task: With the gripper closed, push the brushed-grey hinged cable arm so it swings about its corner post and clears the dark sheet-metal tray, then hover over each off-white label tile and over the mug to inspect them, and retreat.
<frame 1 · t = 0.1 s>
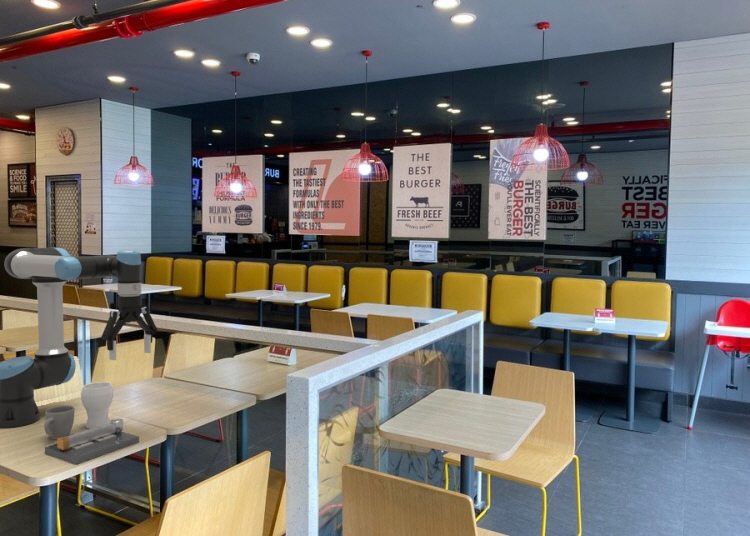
hand: (130, 356, 196), 28 cm above the table, fingers open, 13 cm apart
mug: (57, 438, 195), on the table
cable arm: (92, 433, 187), point 4 cm above the table, hinge at 0.0°
chassis: (93, 447, 186), on the table
cup: (98, 426, 208), on the table
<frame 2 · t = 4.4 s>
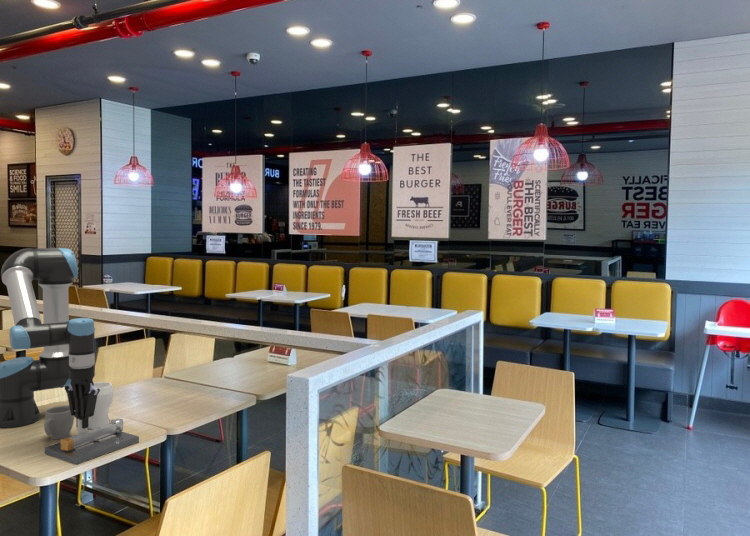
hand: (82, 437, 185), 4 cm above the table, fingers closed
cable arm: (94, 433, 187), point 4 cm above the table, hinge at 5.8°, touching gripper
everything else where it was.
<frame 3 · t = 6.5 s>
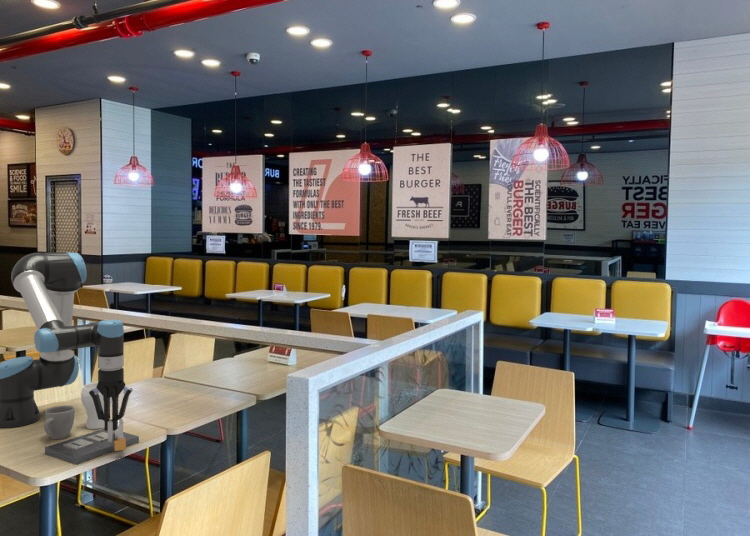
hand: (111, 440, 184), 3 cm above the table, fingers closed
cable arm: (118, 433, 187), point 4 cm above the table, hinge at 57.2°, touching gripper
everything else where it was.
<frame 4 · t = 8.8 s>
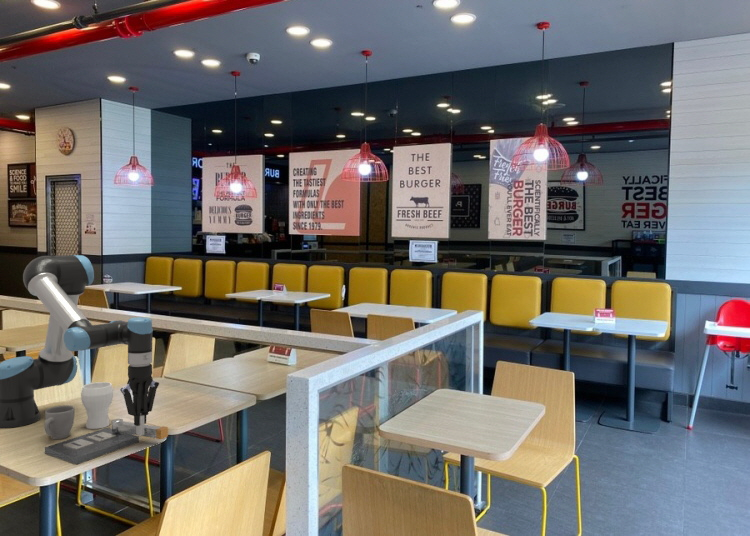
hand: (140, 434, 189), 3 cm above the table, fingers closed
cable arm: (138, 428, 192), point 4 cm above the table, hinge at 100.4°, touching gripper
everything else where it was.
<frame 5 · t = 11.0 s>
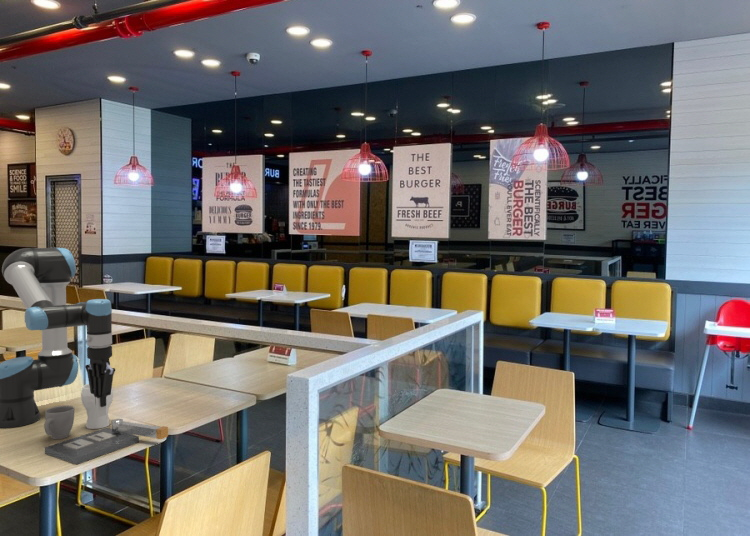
hand: (101, 415, 190), 9 cm above the table, fingers closed
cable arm: (138, 428, 192), point 4 cm above the table, hinge at 100.6°
everything else where it was.
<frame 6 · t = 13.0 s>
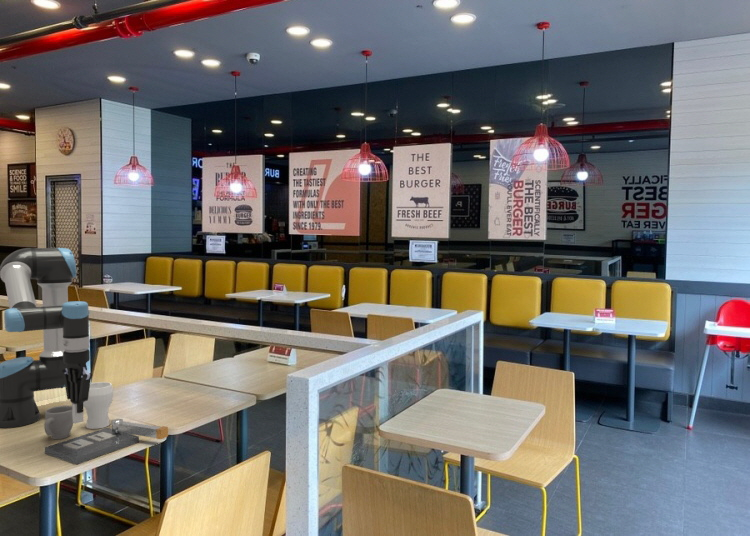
hand: (78, 422, 183), 9 cm above the table, fingers closed
nothing on the table moved.
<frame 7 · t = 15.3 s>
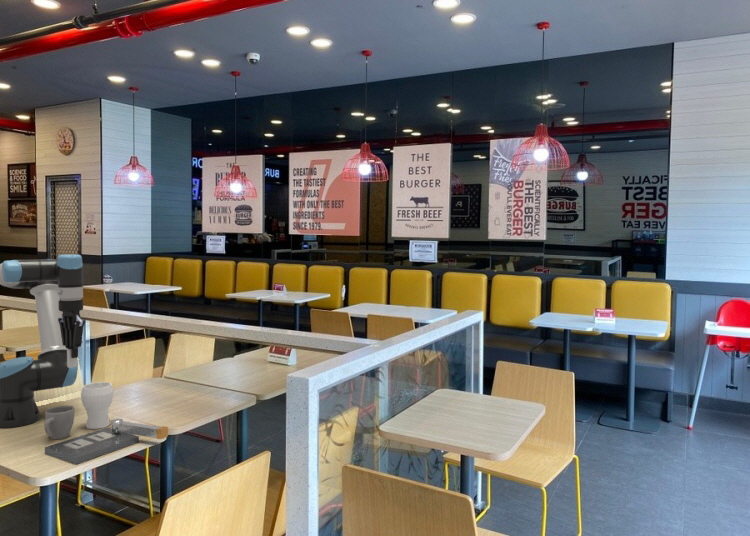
hand: (72, 366, 197), 24 cm above the table, fingers closed
nothing on the table moved.
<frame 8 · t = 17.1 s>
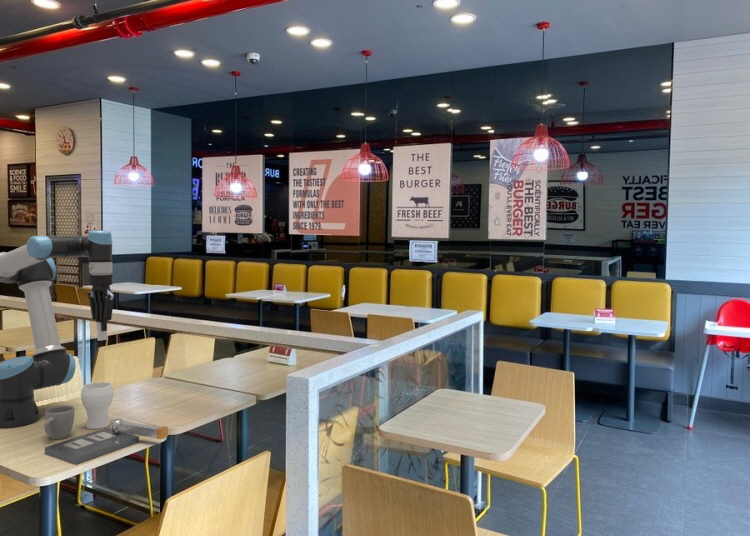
hand: (102, 339, 202), 32 cm above the table, fingers closed
nothing on the table moved.
at the end: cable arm at +101° (first picture: +0°); mug moved 0.2 cm from its start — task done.
